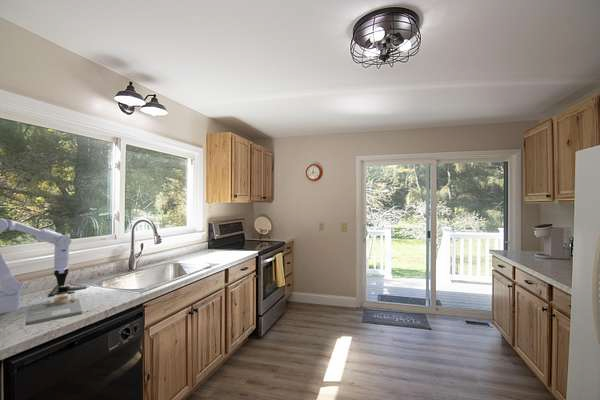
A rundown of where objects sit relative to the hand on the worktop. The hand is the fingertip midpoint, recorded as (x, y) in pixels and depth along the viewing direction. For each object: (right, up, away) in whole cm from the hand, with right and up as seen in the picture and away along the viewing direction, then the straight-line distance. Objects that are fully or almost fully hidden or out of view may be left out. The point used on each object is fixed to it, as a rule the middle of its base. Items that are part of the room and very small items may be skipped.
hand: (61, 284), depth 141 cm
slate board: (+9, -8, -14) cm, 19 cm away
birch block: (+5, -7, -6) cm, 11 cm away
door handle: (-8, -9, +14) cm, 19 cm away
